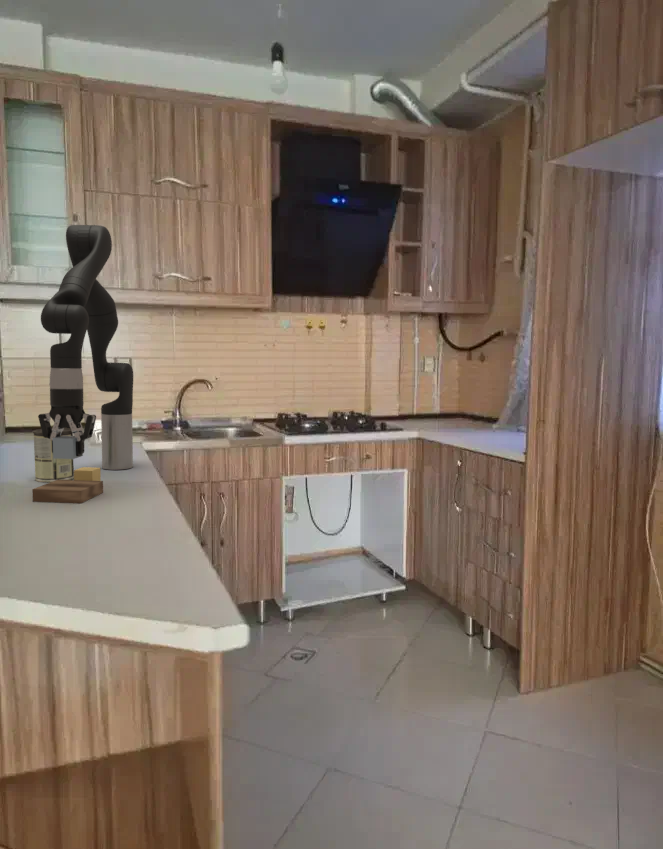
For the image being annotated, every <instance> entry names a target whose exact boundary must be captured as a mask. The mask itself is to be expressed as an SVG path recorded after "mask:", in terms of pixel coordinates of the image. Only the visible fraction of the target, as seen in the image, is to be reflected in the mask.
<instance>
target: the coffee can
mask: <svg viewBox="0 0 663 849" xmlns="http://www.w3.org/2000/svg"><path fill="white" fill-rule="evenodd" d="M52 428H53V427H51V429H52ZM32 433H33V447H34V448H33V449H34V450H33V451H34V453H33V454H34V473H35V474H34V475H35V479H34V481H36V482H38V483H39V482H41V483H50V482H53V481H56V480H74V470H75V469H74V466H75V465H74V459H55V458H53V453H52V441H51V439H49V438H44V437H43V433H42V429H41V428H38V429H33V431H32ZM61 436H74V433H72V431H71V428H64V430H63V431H62V433H61Z"/></svg>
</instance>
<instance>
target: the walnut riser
mask: <svg viewBox="0 0 663 849" xmlns="http://www.w3.org/2000/svg"><path fill="white" fill-rule="evenodd" d="M31 491H32V502H38V503H60V504H61V503H62V504H63V503H64V504H68V503H69V504H82V503H85V502H87V501H89V500H91V499H93V498H95V497H97V496H99V495H101V494H103V493H104V481H103V480H101V481H84V480H74V479H71V480H56V481H53V482H47V483H45V484H42V485H40V486H38V487H35V488H32V490H31Z"/></svg>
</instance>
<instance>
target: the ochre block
mask: <svg viewBox="0 0 663 849" xmlns="http://www.w3.org/2000/svg"><path fill="white" fill-rule="evenodd" d="M101 474H102V473H101V467H93V466H92V467H91V466H90V467H88V466H85V467H84V466H82V467H80V468H76V469H74V478H73V480H84V481H102V480H101Z"/></svg>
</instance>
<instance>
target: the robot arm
mask: <svg viewBox="0 0 663 849" xmlns="http://www.w3.org/2000/svg"><path fill="white" fill-rule="evenodd" d="M65 231H66V232H65V240H66V247H67V251H68V255H69V258H70V259H69V260H70V262H71V265H72V267H71V268H70V269H69V270H68V271H67V272H66V273H65V274H64V276H63V278H62V279H61V282H60V286H59V288H58V291H57V292H56V293H55V294H53V296H52V297H51V298H50V299H49V300H48V301H47V302H46V303H45V305H44V306H43V308H42V310H41V314H40V323H41V325H42V328H43V329H44V330H45V331H46V332H47V333H50V334H61V335H62V334H63V335H64V334H65V335H69V334H70V336H69V338H68V340H67V341H65V342H60V343H55V344H52V345H51V347H50V349H49V354H50V355H49V356H50V358H49V359H50V371H49V372H50V373H49V401H50V402H49V404H50V410H49V412H47V413H46V412H45V413H40V414H38V416H37V417H38V421H39V425H40V429H42V433H43V437H44V438H49V439H51V441H52V453H53V438H55V437H60V436H61V433H62V431H63V430H64V428H68V429H71V431H72V433H73V436H75V438H76V456H81V457H83V456H82V454H84V453H85V441H86V440H88V439H91V438H92V437H93V433H94V428H95V424H96V421H97V415H96V414H88V413H86V412H85V410H84V404H85V403H84V375H83V369H82V368H83V367H82V366H83V365H82V353H83V352H82V351H83V345H84V342H85V337H86V334H87V336H88V340H89V345H90V350H91V351H90V352H91V360H92V367H93V375H94V381H95V386H96V387H97V389H98V390H99V391H101V392H104V393H105V392H106V393H118V396H117V398H116V399H114V400H112V401H110V402H106V403H104V404H102V405H101V407H100V422H101V468H102V469H104V470H108V471H109V470H113V471H114V470H115V471H116V470H117V471H118V470H128V469H132V468H133V467H134V464H133V463H134V461H133V460H134V458H133V457H134V456H133V455H134V454H133V453H134V451H133V448H134V447H133V444H134V443H133V439H134V436H133V401H134V400H133V397H134V396H133V395H134V394H133V393H134V370H133V367H132V365H131V364H130V363H129V362H108V360H107V350H108V347H109V346H110V343H111V341H112V339H113V338H114V335H115V333H116V331H117V330H118V326H119V319H118V313H117V306H116V303H115V300H114V299H113V297H112V296H111V294H110V293H109V292H108V291H107V290H106V288H105V287H104V286H103V285H102V283H100V281H98V279H97V278H98V276H99V275H100V273H101V271H102V270H103V268H104V267H105V265H106V263H107V262H108V260H109V258H110V257H111V254H112V247H113V244H112V242H113V241H112V236H111V233H110V231H109V229H108V228H107V227H106V226H103V225H98V224H72V225H69V226H68V227H67V228H66V230H65ZM51 419H52V421H53V425H51ZM83 419H84V421H83ZM82 421H83V422H84V423H85V424H84V428H83V425H82ZM51 428H52V429H51Z"/></svg>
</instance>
